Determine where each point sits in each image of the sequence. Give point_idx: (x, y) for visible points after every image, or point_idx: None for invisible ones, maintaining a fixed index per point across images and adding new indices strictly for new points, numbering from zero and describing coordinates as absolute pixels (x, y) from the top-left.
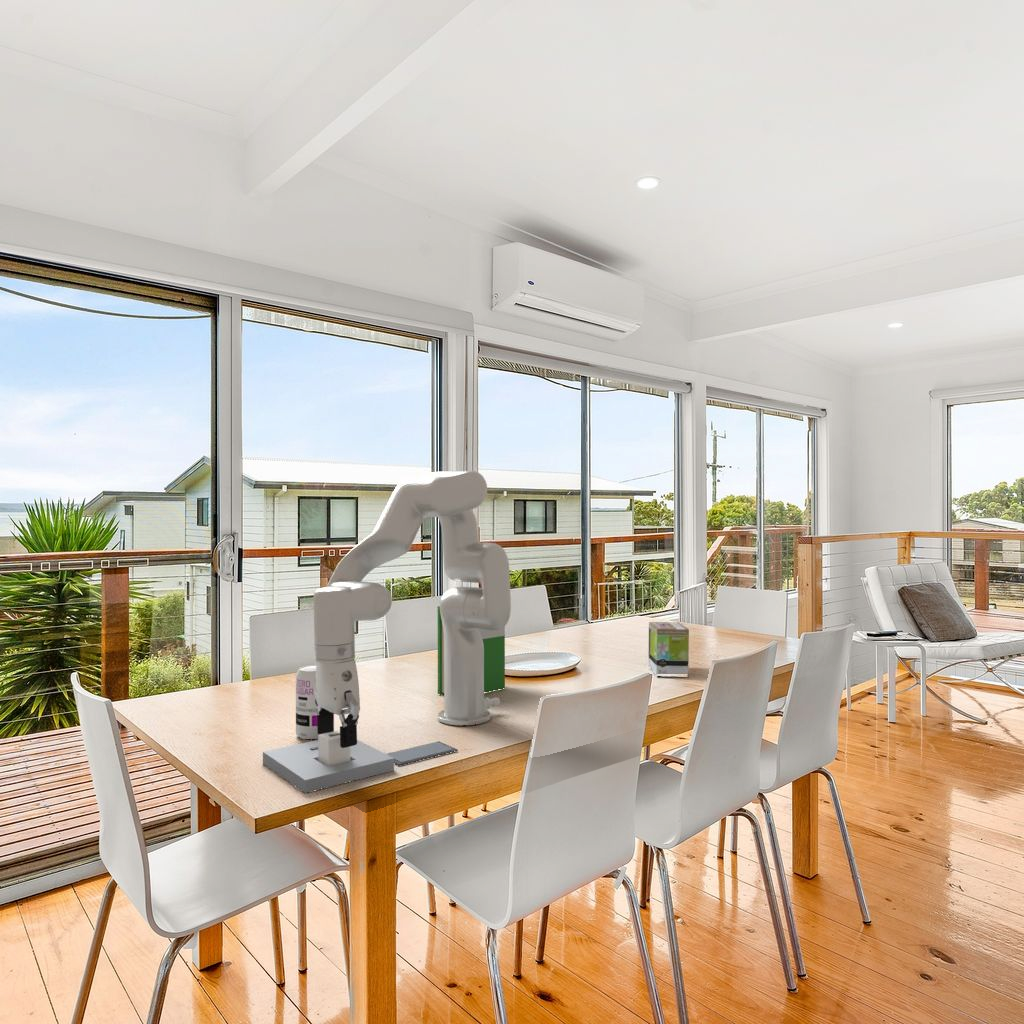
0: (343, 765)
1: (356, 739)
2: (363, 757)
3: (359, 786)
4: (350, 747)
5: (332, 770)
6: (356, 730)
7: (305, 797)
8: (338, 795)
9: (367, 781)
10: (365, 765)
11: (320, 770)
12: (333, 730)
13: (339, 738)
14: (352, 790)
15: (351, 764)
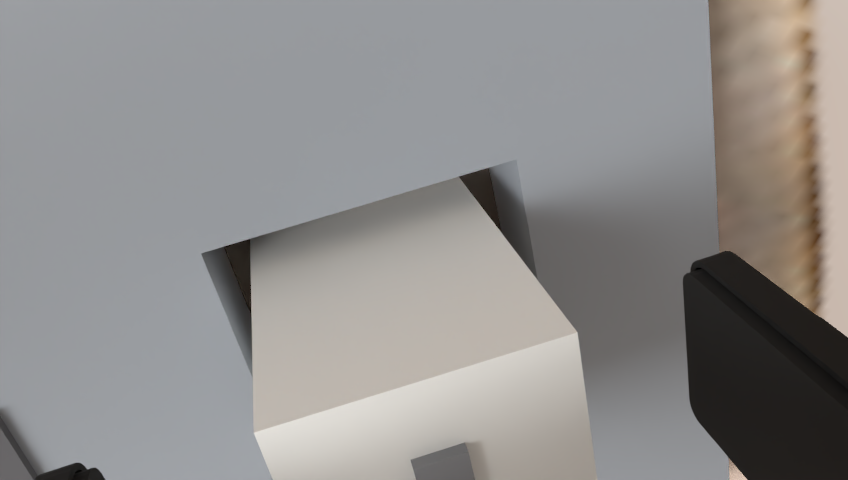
0: (608, 286)
1: (758, 278)
2: (495, 75)
3: (772, 157)
4: (68, 140)
5: (666, 372)
6: (844, 342)
7: (731, 466)
8: (821, 304)
9: (720, 80)
10: (711, 106)
11: (616, 447)
12: (87, 474)
13: (591, 449)
14: (806, 214)
15: (624, 221)
